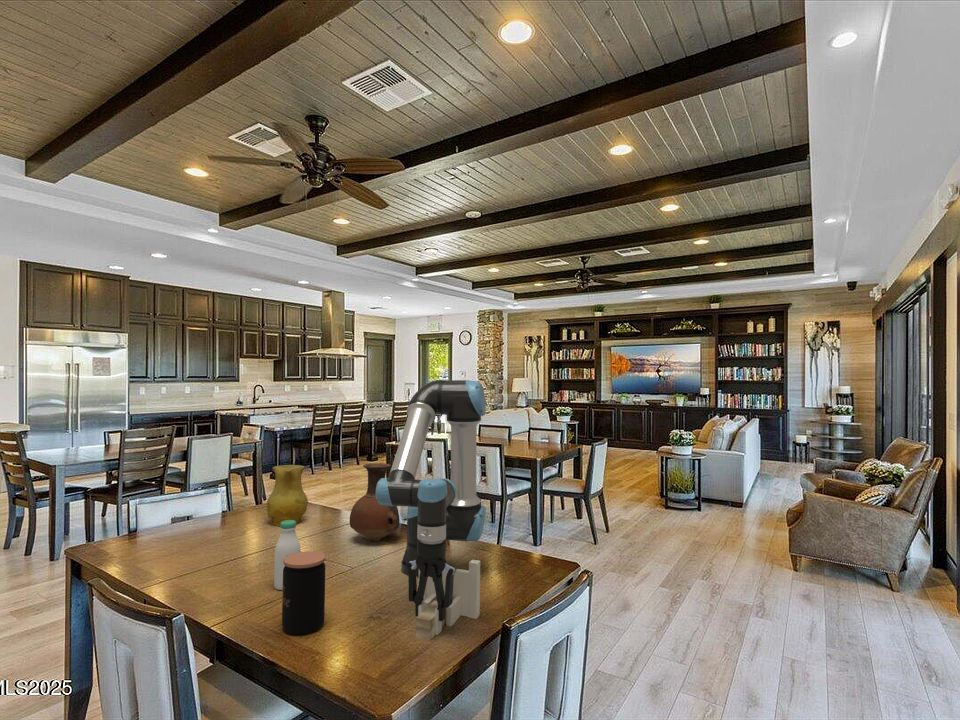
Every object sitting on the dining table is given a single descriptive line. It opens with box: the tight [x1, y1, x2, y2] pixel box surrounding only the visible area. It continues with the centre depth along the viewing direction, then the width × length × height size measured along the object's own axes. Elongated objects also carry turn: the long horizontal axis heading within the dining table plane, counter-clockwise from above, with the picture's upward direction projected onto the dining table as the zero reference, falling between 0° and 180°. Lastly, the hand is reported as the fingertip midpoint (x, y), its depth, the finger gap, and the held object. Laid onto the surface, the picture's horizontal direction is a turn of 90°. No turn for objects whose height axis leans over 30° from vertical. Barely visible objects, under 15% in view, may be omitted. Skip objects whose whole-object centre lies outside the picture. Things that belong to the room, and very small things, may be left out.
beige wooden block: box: [415, 598, 446, 641], centre depth 142 cm, size 14×4×5 cm, turn 160°
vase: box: [349, 462, 400, 542], centre depth 214 cm, size 25×20×30 cm
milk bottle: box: [273, 520, 302, 591], centre depth 168 cm, size 8×8×20 cm
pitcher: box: [266, 464, 309, 527], centre depth 238 cm, size 17×19×25 cm
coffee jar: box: [281, 550, 326, 636], centre depth 141 cm, size 11×11×18 cm
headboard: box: [417, 559, 481, 627], centre depth 148 cm, size 18×9×15 cm, turn 70°
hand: (429, 630), depth 139 cm, fingers open, 4 cm apart
